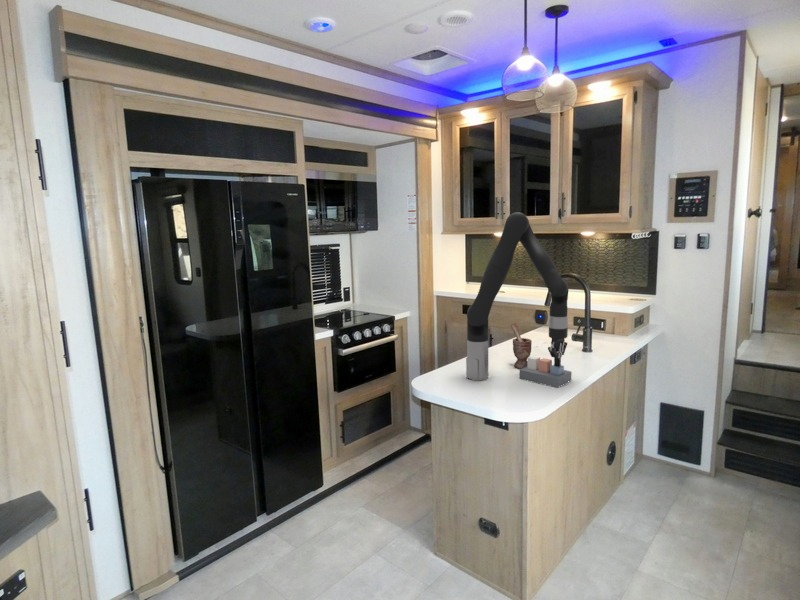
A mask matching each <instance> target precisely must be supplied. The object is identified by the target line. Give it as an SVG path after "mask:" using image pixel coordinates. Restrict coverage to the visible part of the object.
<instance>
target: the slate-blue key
mask: <svg viewBox="0 0 800 600" xmlns="http://www.w3.org/2000/svg"><path fill="white" fill-rule="evenodd" d="M564 370H565V366H564V365H562V364H561V366H559V367H557V366H554V364H552V366H551V370H550V374H554V375H559V376H560V375H562V374H564Z"/></svg>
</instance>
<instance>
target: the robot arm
mask: <svg viewBox="0 0 800 600" xmlns="http://www.w3.org/2000/svg"><path fill="white" fill-rule="evenodd" d="M499 239H500V240H499V241H498V243H497V245H496V247H495V248H494V251H493V253H492V255H491V257H490V258H489V260H488V263H487V265H486V267H485V270H484V272H483V276H482V278H481V281H480V286H479V289H478V292H477V295H476V296H475V297H476V298H474V301H473V302H472V304H471V305H469V307H468V308H467V311H466V318H467V319H466V323H467V324H466V326H467V328H466V331H467V332H466V335H467V338H466V339H467V340H466V341H467V342H466V344H467V348H466V349H467V350H466V351H467V352H466V353H467V357H466V358H465V359H466V361H465V363H466V364H465V367H466V369H465V371H466V372H465V374H466V379H468V378H469V380H473V381H477V382H478V381H484V380H487V379H489V315H490V312H491V309H492V307H493V304H494V302H495V299H496V296H497V295H498V293H499V291H500V289H501V288H502V287H503V284H504V282H505V281H506V278H507V275H508V274H509V271H510V268H511V266H512V262H513V260H514V255H515V251H516V248H517V246H518V244H519V242H520V243H521V245H522V246H523V248H524V249H525V252H526V253H527V254H528V257H529V258H530V260H531V262H532V264H533V265H534V267H535V270H537V272H538V273H539V275H540V276H541V277H542V279H543V282H544V283H545V284H544V285H545V286H546V287H547V290H548V292H549V293H550V297H551V299H550V300H551V301H550V304H549V316H548V317H549V319H548V337H549V338H551V342H550V346H548V347H547V350H548V352H549V354H550V356H551V358H554V359H553V365H554V366H557V367H559V366H561V365H562V364H561V361H562V357H563V356H564V355H565V353H566V349H567V345H568V342H566V341H565V339H567V338H568V334H569V333H568V331H569V330H568V329H569V328H568V326H569V321H568V299H569V290H570V289H569V288H570V287H569V283H568V281H567V280H566V279H564V278H562V276H561V275H560V273H559V272H558V269H557V266H556V264H555V263H554V262H553V260H552V258H551V256H550V255H549V254H548V252H547V251H546V250H545V249H544V246H542V244H541V243H540V241H539V240H538V239H537V237H536V235H535V233H534V231H533V229H532V226H531V224H530V221H529V217H527V215H526V214H524V213H522V212H519V211H518V212H517V211H515V212H513V213H511V214H510V215H509V216H507V218H506V221H505V222H504V226H503V230H502V233H501V236H500V238H499Z"/></svg>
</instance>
